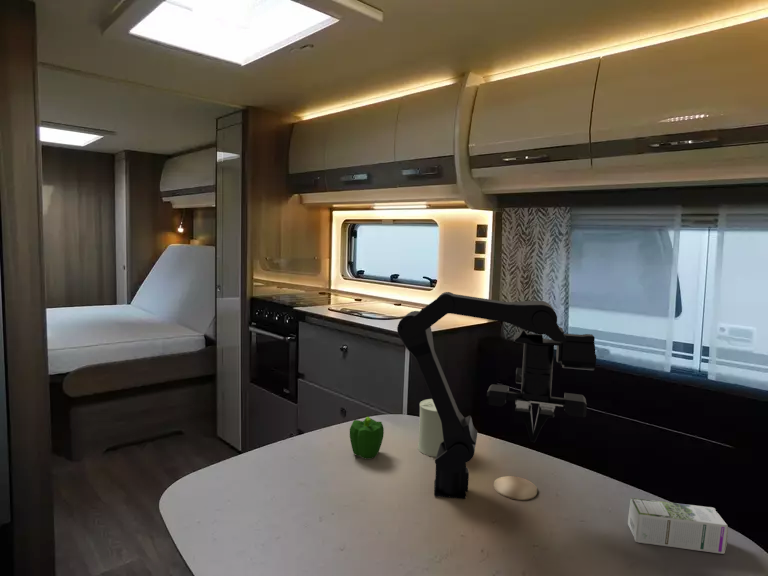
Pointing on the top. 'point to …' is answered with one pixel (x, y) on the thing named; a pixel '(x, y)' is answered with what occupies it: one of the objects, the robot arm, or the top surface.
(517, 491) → the cork coaster
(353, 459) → the top surface
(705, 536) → the syrup box
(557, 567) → the top surface
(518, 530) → the top surface
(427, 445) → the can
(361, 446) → the bell pepper
